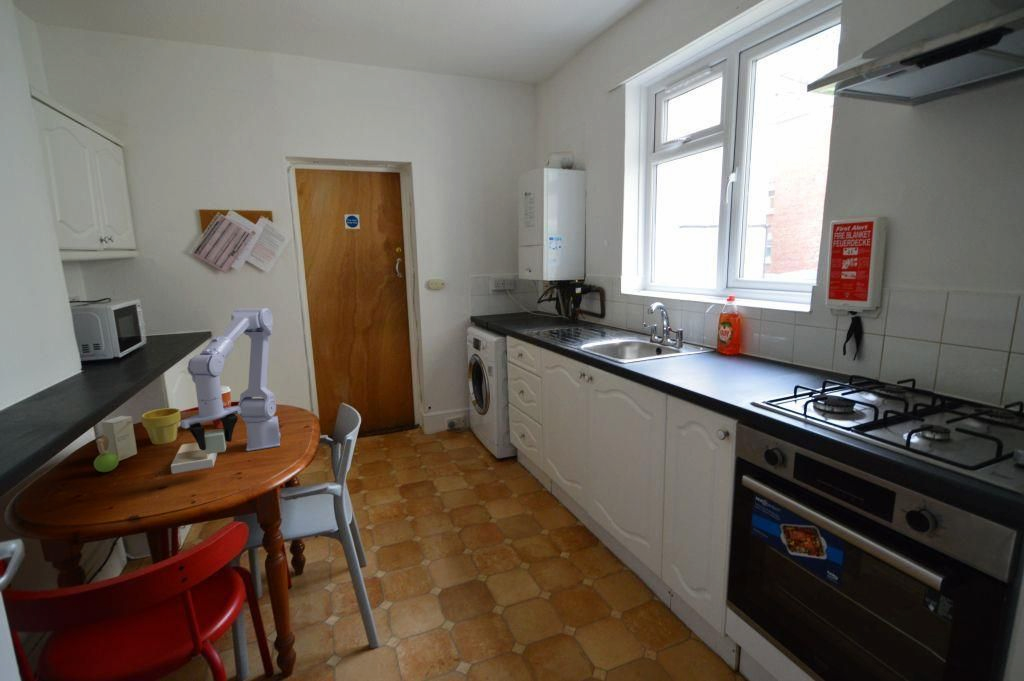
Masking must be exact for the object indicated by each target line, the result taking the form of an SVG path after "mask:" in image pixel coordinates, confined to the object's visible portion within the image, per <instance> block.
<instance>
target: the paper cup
mask: <svg viewBox="0 0 1024 681" xmlns="http://www.w3.org/2000/svg"><path fill="white" fill-rule="evenodd" d="M231 391H232V389H231V388H230V386H228V385H221V393H222V401H223V408H229V407H232V400H231V398H232V397H231ZM211 422H212V426H213V428H214V429H223V425H222V421H221V418H219V419H216V420H212V421H211Z"/></svg>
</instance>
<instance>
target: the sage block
mask: <svg viewBox="0 0 1024 681" xmlns="http://www.w3.org/2000/svg"><path fill="white" fill-rule="evenodd" d="M204 436H205V444H206V450H205V451H206V454H212V453H217V454H218V453H225V452H226V449H227V441H226V438H225V430H224V429H223V428H220V429H216V430H209V431H205V435H204Z"/></svg>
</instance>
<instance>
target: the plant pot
mask: <svg viewBox="0 0 1024 681" xmlns="http://www.w3.org/2000/svg"><path fill="white" fill-rule="evenodd" d="M180 415H181V409H179V408H175V407H168V408H158V409H153V410H149V411H147V412H145V413H143V414H141V423H142V426H143V427H144V428H145V429H146V431H147V434H148V436H149V439H150V441H151V443H152V445H166V444H169V443H173V442H174V441H176V440H177V437H178V428H179V427H178V423H179V421H180V419H181V420H182V418H181V417H182V416H180ZM180 422H181V421H180Z"/></svg>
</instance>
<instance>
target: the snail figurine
mask: <svg viewBox="0 0 1024 681" xmlns="http://www.w3.org/2000/svg"><path fill="white" fill-rule="evenodd" d="M94 438H96V444H97V449H98V452H99V455H98V456H97V457H95V459H94V460H93V466H94V468H95V470H96V471H98V472H101V473H108V472H112V471H113V470H114V469H116V468H117V467H118V465H119V462H120V461H119V459H118V457H117V456H116V455H115V454H113V453H108V447H109V441H108V438H107V437H106V436H103V435H101V434H99V435H94Z"/></svg>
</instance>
